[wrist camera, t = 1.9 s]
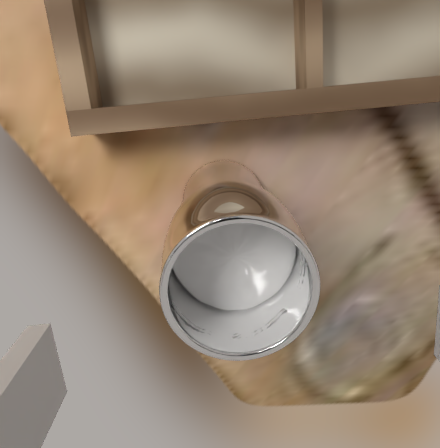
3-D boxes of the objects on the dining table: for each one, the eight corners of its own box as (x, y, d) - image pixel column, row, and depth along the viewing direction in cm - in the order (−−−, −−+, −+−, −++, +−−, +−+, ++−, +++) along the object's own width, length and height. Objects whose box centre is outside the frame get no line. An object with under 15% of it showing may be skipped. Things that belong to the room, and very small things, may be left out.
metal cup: (248, 138, 29) (291, 181, 15) (282, 222, 31) (347, 329, 17) (161, 176, 30) (123, 252, 16) (199, 256, 32) (197, 387, 18)
